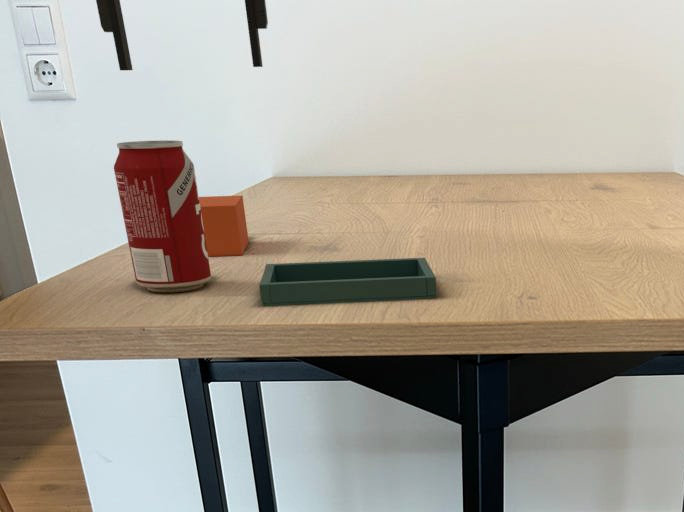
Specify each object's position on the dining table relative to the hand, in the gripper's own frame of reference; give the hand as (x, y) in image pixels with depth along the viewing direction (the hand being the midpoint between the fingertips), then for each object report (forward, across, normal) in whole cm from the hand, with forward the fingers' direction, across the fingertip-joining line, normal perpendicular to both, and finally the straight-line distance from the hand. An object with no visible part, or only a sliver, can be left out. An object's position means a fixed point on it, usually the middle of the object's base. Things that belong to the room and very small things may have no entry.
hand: (192, 69), depth 98 cm
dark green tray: (+18, -15, +30) cm, 38 cm away
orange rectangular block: (+18, 0, +1) cm, 18 cm away
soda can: (+18, +1, +24) cm, 30 cm away
